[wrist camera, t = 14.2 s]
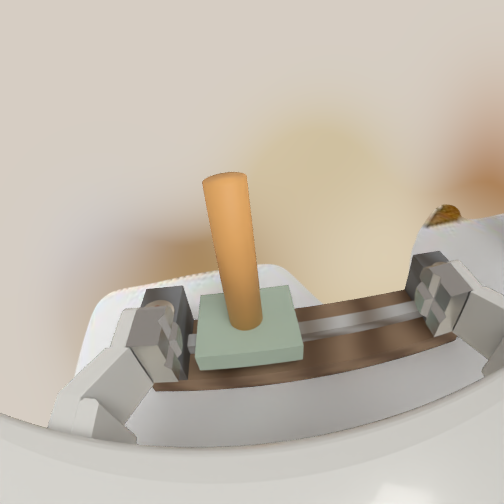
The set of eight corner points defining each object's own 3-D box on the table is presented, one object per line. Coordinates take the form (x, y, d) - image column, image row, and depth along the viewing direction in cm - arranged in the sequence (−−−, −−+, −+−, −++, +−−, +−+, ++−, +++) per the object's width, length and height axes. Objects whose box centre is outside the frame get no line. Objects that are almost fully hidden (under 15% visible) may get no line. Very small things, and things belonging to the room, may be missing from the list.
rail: (425, 296, 32) (440, 247, 28) (455, 340, 26) (478, 290, 22) (165, 334, 32) (145, 285, 28) (155, 391, 26) (126, 345, 22)
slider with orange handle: (288, 299, 30) (281, 157, 22) (303, 359, 24) (304, 192, 16) (204, 309, 30) (171, 172, 22) (200, 370, 24) (145, 213, 16)
